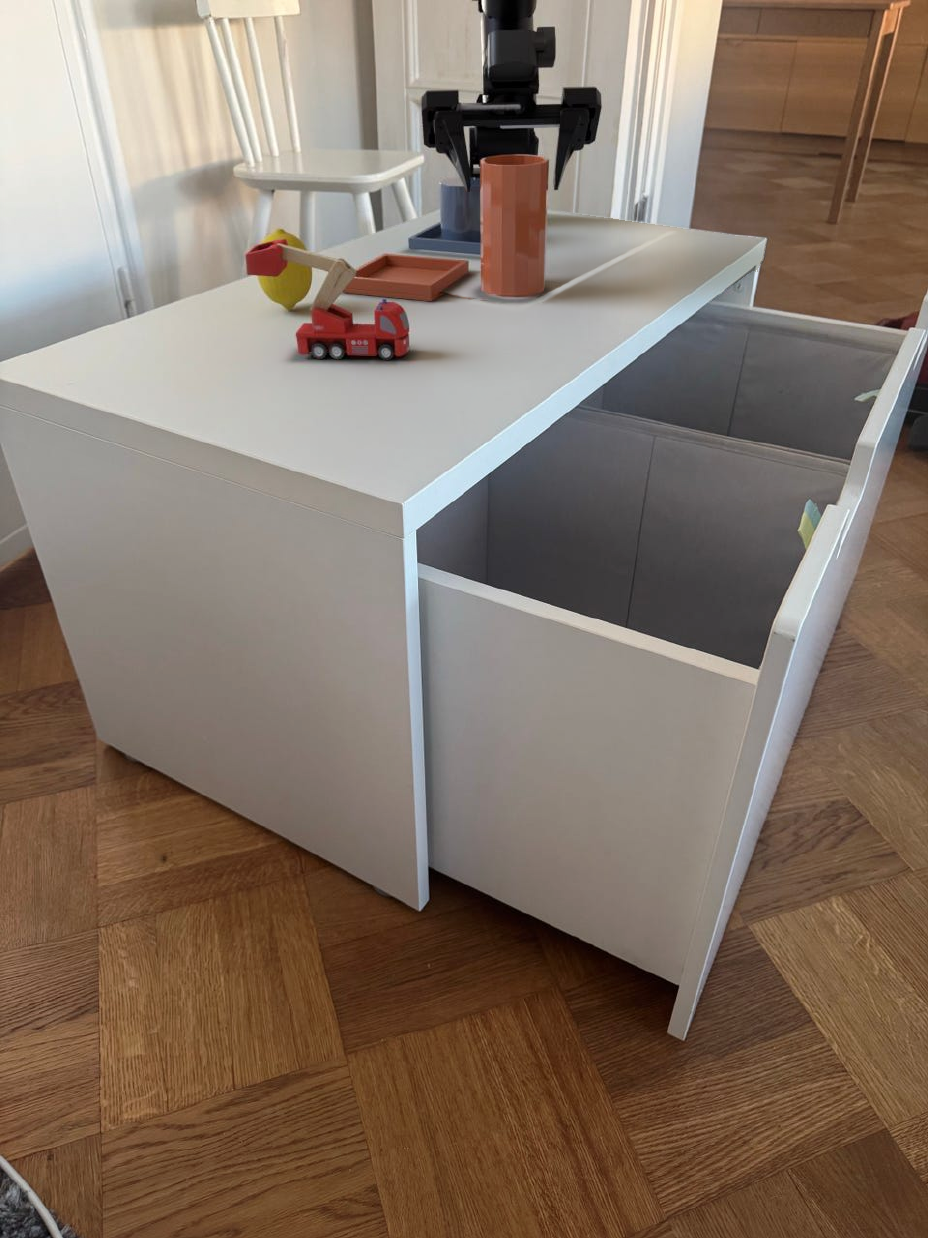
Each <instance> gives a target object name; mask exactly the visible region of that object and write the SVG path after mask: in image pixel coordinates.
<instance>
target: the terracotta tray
mask: <svg viewBox="0 0 928 1238" xmlns="http://www.w3.org/2000/svg"><path fill="white" fill-rule="evenodd" d="M469 262H470V261H469V260H467V259H456V258H455V259H453V258H441V257H430V256H419V255H408V254H407V255H406V254H397V253H395V254H394V253H382V254H381V255H379V256H377V257H375V258H373V259H372V260H370V261H367V262H366V263H364V264H363V265H360V266H358V267H357V268H354V269H355V270H356V275H355V276H354V278H353V279H352V280H351V282H350V283H349V284H348V285H347V286H346V288H345V289H344V290H343V291H342V293H344V294H351V295H352V294H353V295H362V296H363V295H364V296H371V297H372V296H373V297H382V298H392V299H393V298H394V299H402V300H403V299H404V300H413V301H414V300H415V301H422V302H433V301H435V300H436V299H438V298H439V297H441V296H442V295H443V294H445V291H444V290H445V289H446V288H448V287H449V286H450V285H452V284H453V283H455V282H456V281H458V280H460V279H461V278H462V277H464V276H465V275H466V274H468V273H469V270H470V269H469V266H470V265H469Z"/></svg>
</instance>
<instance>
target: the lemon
mask: <svg viewBox="0 0 928 1238" xmlns="http://www.w3.org/2000/svg"><path fill="white" fill-rule="evenodd" d="M278 239H286V241H287V243H288V246H291V247H295V248H298V249H302V250H306V251H308V249H307V248H306V245H304V243H303V242H302V241H301V239H300V238H298V237H297V236H296V235H294V234H292V233H290V232H288V231H286V230H284V228H281V227H279V228H275V230H274V232H272V233H270V234H269V235H267V236H266V237H265V238H264V239H263V240H262V241H261V242H260V244H262V243H266V242H269V241H274V240H278ZM257 279H258V283H259V286H260V288H261V290H262V292H263V293H264V295H266V296H267V298H268V299H269V300H271V301H272V302H274V303H276V304H279V305H281V307H283V308H284V309H285V310H287V311H290V310H293V309H294V307H295V306H296V305H297V304H298V303H300V302H302V301H303V300H304V299H305V298H306V297H307V296H308V294H309V292H310V290H311V287H312V282H313V267H309V266H305V265H301V264H298V263H294V262H290V261H288V263H287V267H286V268H285V269H284V270H283V271H282V273H280V275H279V276H278V277H271V276H257Z"/></svg>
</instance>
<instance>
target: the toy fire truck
mask: <svg viewBox="0 0 928 1238" xmlns="http://www.w3.org/2000/svg"><path fill="white" fill-rule="evenodd" d="M261 243H262V242H261ZM261 243H258V244H255V245H253V247H252V248H251V249H250V250H249V251H247V252H246V253H245V255H244V257H245V259H244V260H245V267H246V275H247V276H257V277H258V276H271V277H278V276H279V275H280V273H282V271H283V270H284V269H285V268H286V267H287V263H288V261H290V262H294V263H298V264H301V265H305V266H309V267H312V269H313V268H314V269H317V270H320V271H323V272H324V271H325V272H327V275H326V276H325V279H324V281H323V283H322V285H321V286H320V288H319V291H318V292H317V294H316V297H315V298H314V300H313V302H312V304H311V306H310V308H309V311H310V312H311V322H304V323H302V324H301V326H300V327H299V328H298V330H296V332H295V338H296V345H297V352H298V354H299V355H309V354H310V353H311V355H312V356H313V357H314V358H316V359H319V360H322V359H324V358H325V357H326V356H327V355H328V354H329V355H330V356H331V358H333V359H335V360H341V359H343V357H344V356H345V354H347V355H348V356H360V357H361V356H363V357H364V356H365V357H367V356H368V357H369V356H371V357H374V356H375V357H376V356H379V357H380V358H381V359H382V360H384V361H389V360H391V359H393V357H394V356H396V357H402V356H404V355H405V354H407V353H408V352H409V351H410V333H409V332H410V323H409V318H408V315H407V312H406V310H405V309H404V307H403V306H402V305H400V304H399V303H397V302H395V301H387V299H386V298H382V299H381V300H382V301H379V303H378V304H377V306H376V307H375V309H374V311H373V313H374V315H373V316H374V323H354V317H353V312H351V311H349V310H347V309H345V308H342V307H341V306H338V305H336V304H334V303H335V301H336V300H337V299H338V298H339V297H340V295H341V294H342V293H343V290H344V289H345V288H346V286H347V285H348V284H349V283H350V282H351V280H352V279H353V278H354V276H355V275H356V270H355V269H356V268H354V267H353V266H352V265H351V264H350V263H349V262H348V261H347V260H345V259H344V258H342V257H339V258H336V257H332V256H328V255H324V254H320V253H317V252H313V251H309V250H307V249H306V250H307V251H306V250H302V249H298V248H295V247H291V246H288V243H287V241H286V239H278V240H274V241H269V242H266V243H262V244H261Z"/></svg>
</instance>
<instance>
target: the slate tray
mask: <svg viewBox="0 0 928 1238" xmlns="http://www.w3.org/2000/svg"><path fill="white" fill-rule="evenodd" d="M407 242H408V243H407V244H408V249H411V250H420V251H421V250H422V251H432V252H443V253H454V254H455V253H456V254H466V255H467V254H468V255H477V256H478V255H479V256H481V243H477V242H465V241H453V240H441V221H439V222H437V223H434V224H433V225H431V226H429V227H427V228H425V229H423V230H421V231H419V232H417V233H415V234H414V235H412V236H409V237H408V238H407Z"/></svg>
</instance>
